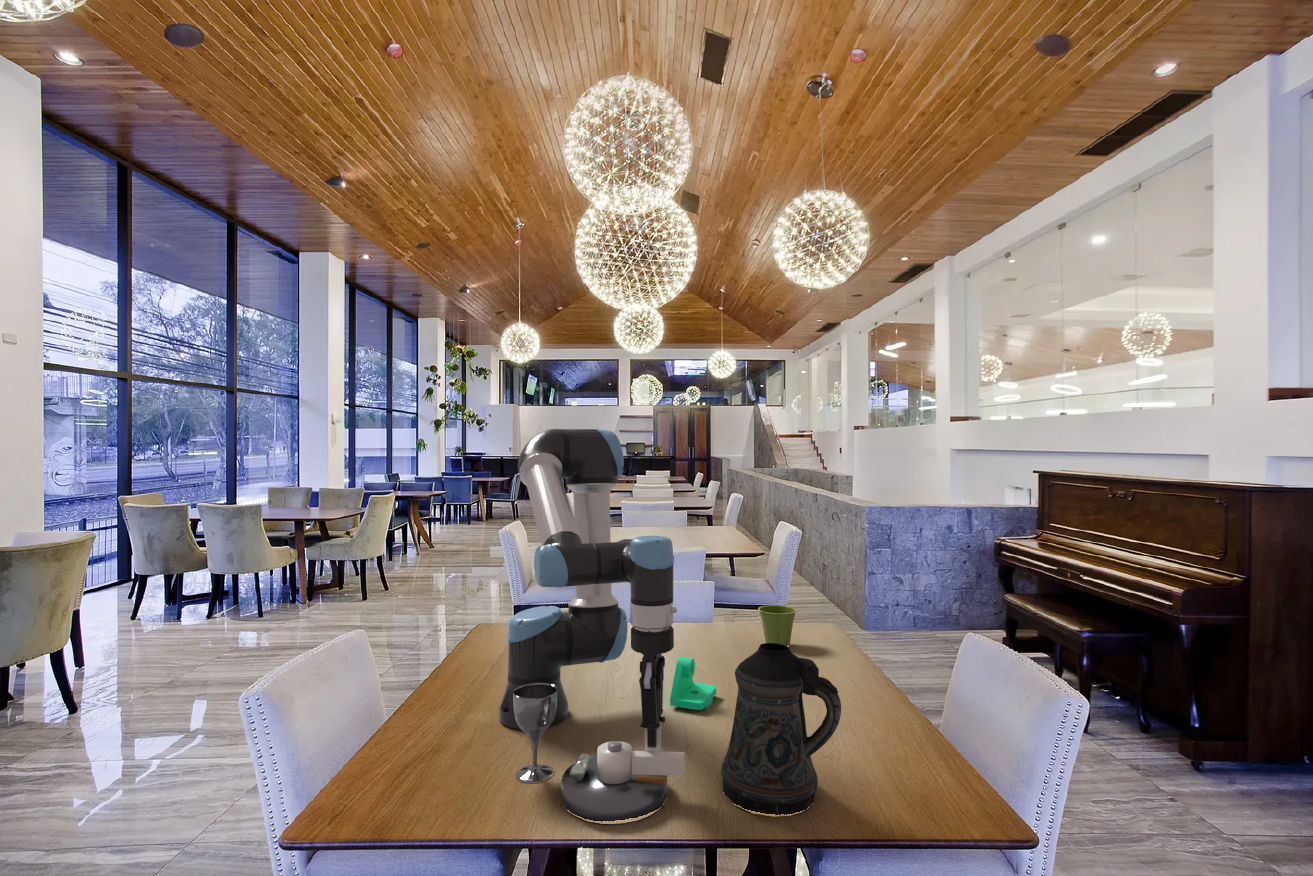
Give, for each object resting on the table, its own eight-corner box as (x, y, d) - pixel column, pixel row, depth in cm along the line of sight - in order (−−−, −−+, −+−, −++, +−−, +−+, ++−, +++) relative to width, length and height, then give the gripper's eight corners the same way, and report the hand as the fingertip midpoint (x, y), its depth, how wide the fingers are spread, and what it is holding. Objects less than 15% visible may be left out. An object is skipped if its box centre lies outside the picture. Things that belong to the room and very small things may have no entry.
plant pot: (802, 644, 198) (802, 607, 198) (789, 654, 188) (788, 615, 188) (766, 638, 204) (766, 603, 205) (751, 647, 194) (751, 610, 195)
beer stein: (713, 770, 117) (713, 633, 118) (816, 767, 119) (815, 631, 120) (730, 821, 101) (730, 662, 102) (849, 816, 102) (848, 659, 103)
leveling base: (547, 819, 101) (547, 785, 101) (577, 766, 119) (578, 736, 119) (659, 829, 98) (659, 794, 99) (673, 773, 116) (673, 743, 116)
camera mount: (701, 715, 143) (701, 669, 143) (670, 710, 146) (670, 665, 146) (717, 697, 154) (717, 654, 155) (687, 692, 157) (687, 650, 157)
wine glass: (537, 759, 122) (538, 679, 122) (565, 772, 117) (566, 689, 117) (503, 775, 115) (504, 691, 116) (531, 789, 110) (532, 702, 111)
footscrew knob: (594, 783, 106) (594, 751, 106) (599, 766, 112) (600, 736, 112) (684, 786, 105) (684, 754, 105) (685, 768, 111) (685, 738, 111)
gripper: (668, 637, 104) (670, 783, 103) (677, 617, 117) (678, 747, 116) (623, 636, 105) (624, 780, 104) (637, 615, 118) (638, 744, 117)
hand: (653, 762), depth 110 cm, fingers closed
